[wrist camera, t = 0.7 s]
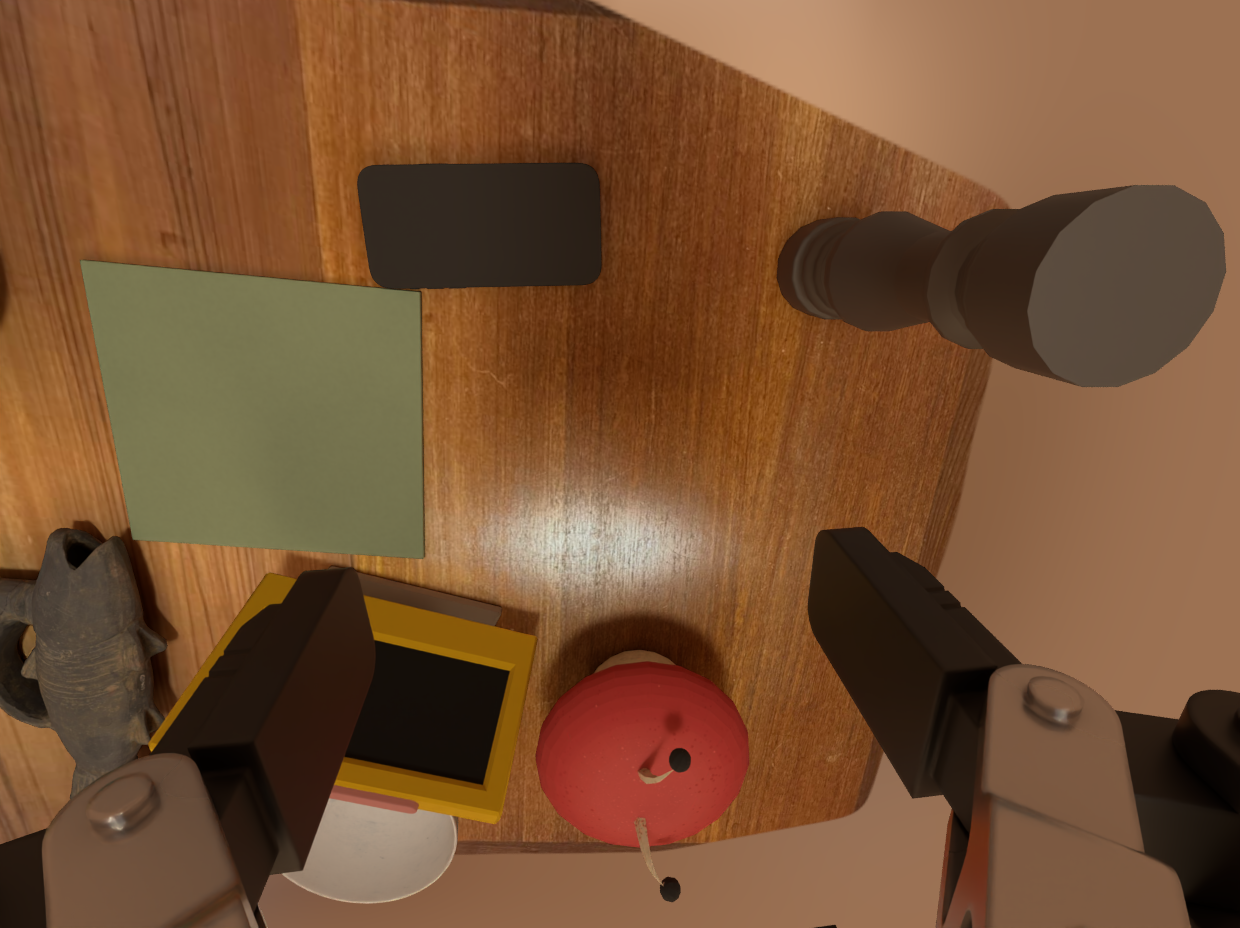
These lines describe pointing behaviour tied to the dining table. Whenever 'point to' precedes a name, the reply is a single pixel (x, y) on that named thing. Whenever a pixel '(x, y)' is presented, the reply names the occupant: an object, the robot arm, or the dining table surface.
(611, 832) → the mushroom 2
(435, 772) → the yellow framed monitor
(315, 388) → the mat
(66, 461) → the dining table surface
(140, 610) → the ceramic vessel
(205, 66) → the dining table surface
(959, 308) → the candle holder
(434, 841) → the chinaware
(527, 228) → the phone
